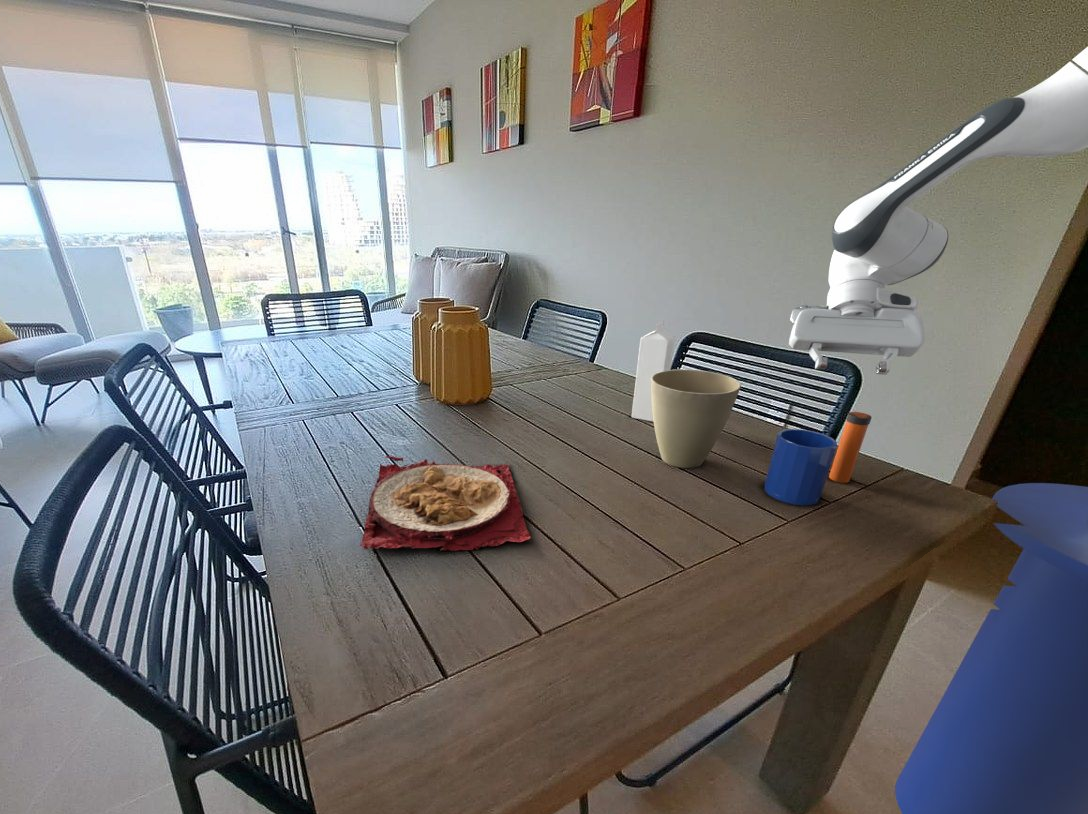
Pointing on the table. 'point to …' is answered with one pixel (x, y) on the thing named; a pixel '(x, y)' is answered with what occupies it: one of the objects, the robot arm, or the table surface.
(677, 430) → the plant pot
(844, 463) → the orange tube bottle
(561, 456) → the table surface
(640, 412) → the milk
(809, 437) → the cup
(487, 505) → the plate with food
